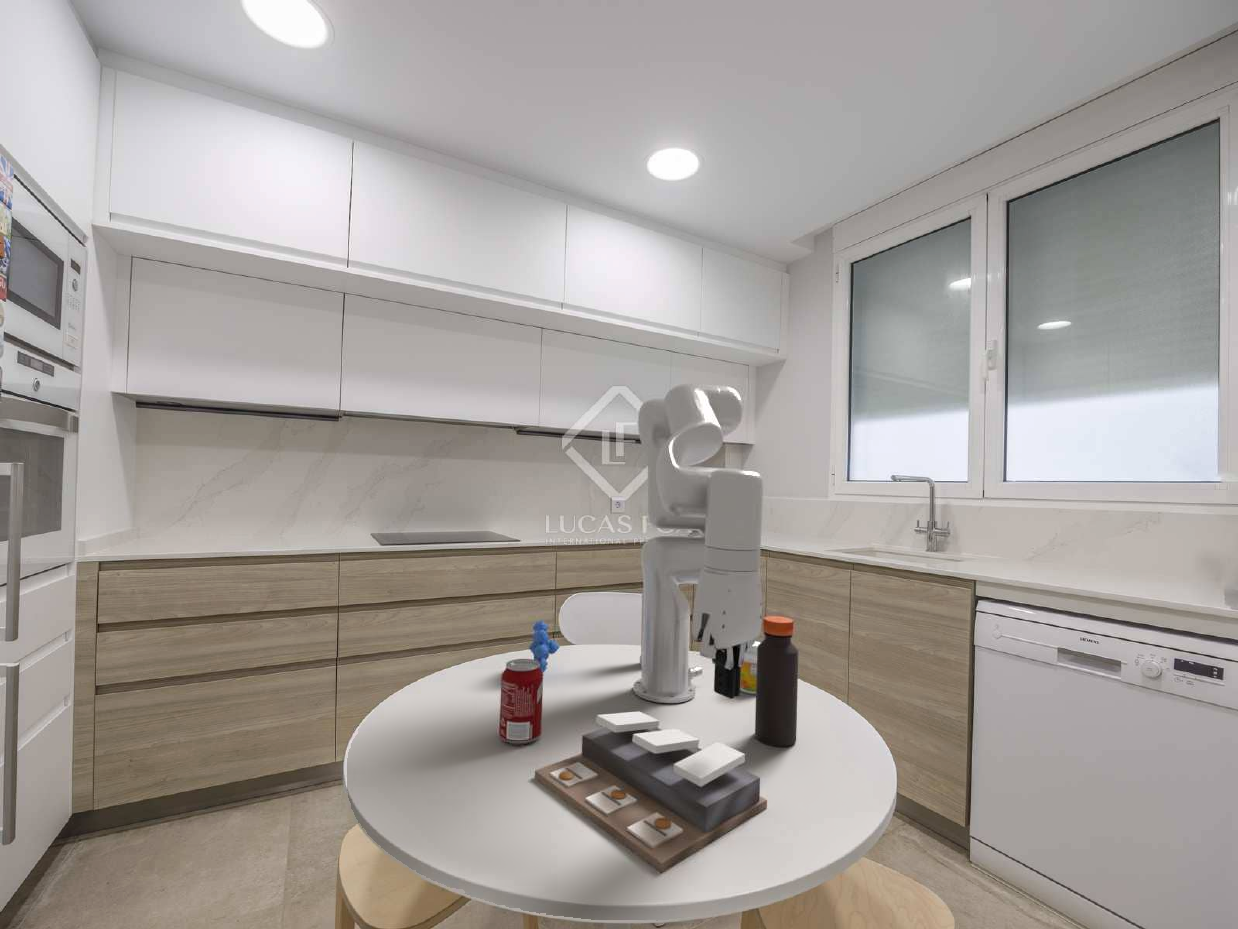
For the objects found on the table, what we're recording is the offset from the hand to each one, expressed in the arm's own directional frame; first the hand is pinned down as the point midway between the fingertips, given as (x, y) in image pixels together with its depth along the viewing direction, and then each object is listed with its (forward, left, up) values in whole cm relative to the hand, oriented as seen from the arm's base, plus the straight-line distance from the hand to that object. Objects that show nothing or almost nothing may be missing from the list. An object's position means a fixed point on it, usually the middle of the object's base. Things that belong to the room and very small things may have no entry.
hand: (726, 693), depth 77 cm
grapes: (-8, -55, -14) cm, 57 cm away
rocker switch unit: (+7, -7, -14) cm, 17 cm away
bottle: (-32, -46, -14) cm, 57 cm away
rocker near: (+4, +1, -8) cm, 9 cm away
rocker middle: (+4, -7, -8) cm, 12 cm away
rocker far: (+4, -15, -8) cm, 18 cm away
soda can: (+12, -32, -14) cm, 37 cm away
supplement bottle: (-38, -22, -14) cm, 46 cm away
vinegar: (-22, -6, -14) cm, 26 cm away
